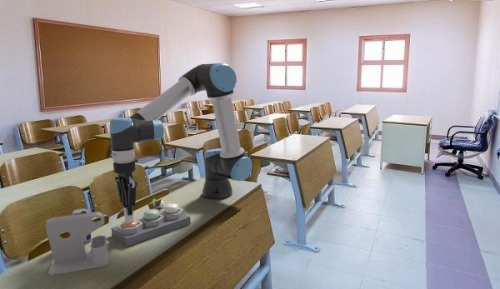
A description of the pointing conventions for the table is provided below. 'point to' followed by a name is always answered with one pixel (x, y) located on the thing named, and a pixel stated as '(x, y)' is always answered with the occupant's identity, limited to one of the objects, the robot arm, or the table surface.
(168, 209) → the cream button
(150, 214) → the sage button
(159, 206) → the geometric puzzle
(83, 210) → the energy drink
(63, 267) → the phone holder
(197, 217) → the table surface
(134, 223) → the terracotta button
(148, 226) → the button board
